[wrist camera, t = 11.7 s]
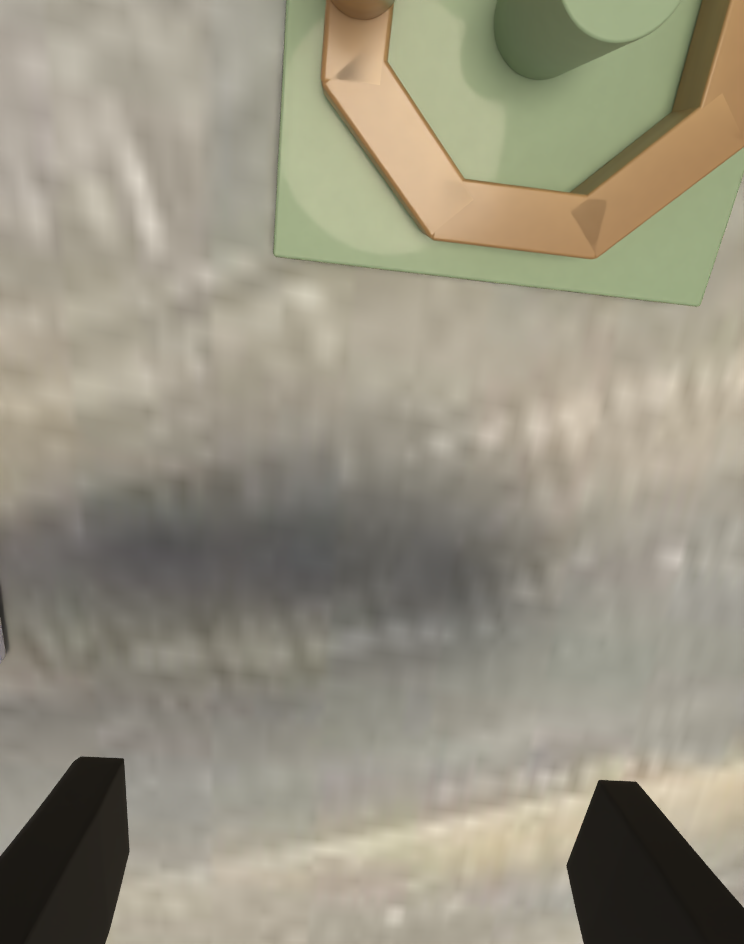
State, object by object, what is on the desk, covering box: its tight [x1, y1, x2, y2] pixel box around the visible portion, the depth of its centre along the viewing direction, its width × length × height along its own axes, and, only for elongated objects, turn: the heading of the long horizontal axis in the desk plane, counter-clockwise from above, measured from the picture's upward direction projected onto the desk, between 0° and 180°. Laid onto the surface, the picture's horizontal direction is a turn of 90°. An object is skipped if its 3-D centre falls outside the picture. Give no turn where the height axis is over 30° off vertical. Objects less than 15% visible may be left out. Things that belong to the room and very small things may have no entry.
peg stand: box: [273, 0, 744, 307], centre depth 11 cm, size 10×10×5 cm
